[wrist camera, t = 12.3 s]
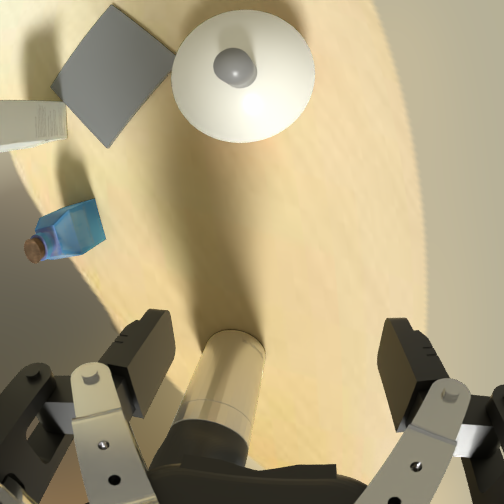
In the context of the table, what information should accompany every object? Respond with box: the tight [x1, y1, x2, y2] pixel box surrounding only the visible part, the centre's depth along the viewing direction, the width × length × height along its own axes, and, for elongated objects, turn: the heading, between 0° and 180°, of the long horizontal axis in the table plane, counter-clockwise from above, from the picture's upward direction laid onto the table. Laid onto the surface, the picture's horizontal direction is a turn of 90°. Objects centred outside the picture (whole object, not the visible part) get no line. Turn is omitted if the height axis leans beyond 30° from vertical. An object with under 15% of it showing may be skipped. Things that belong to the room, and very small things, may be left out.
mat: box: [50, 5, 176, 148], centre depth 35 cm, size 15×15×1 cm
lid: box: [171, 10, 315, 143], centre depth 26 cm, size 14×14×6 cm
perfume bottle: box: [24, 198, 106, 263], centre depth 38 cm, size 6×6×12 cm
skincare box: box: [0, 100, 67, 152], centre depth 32 cm, size 8×6×15 cm
